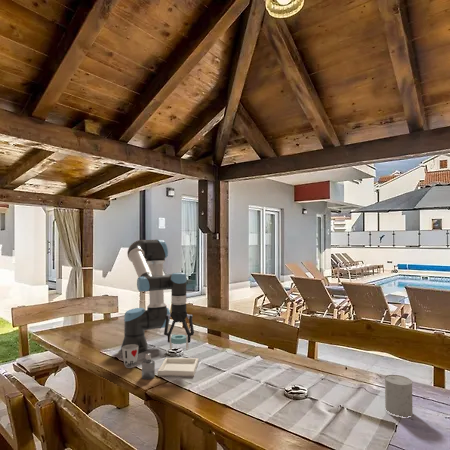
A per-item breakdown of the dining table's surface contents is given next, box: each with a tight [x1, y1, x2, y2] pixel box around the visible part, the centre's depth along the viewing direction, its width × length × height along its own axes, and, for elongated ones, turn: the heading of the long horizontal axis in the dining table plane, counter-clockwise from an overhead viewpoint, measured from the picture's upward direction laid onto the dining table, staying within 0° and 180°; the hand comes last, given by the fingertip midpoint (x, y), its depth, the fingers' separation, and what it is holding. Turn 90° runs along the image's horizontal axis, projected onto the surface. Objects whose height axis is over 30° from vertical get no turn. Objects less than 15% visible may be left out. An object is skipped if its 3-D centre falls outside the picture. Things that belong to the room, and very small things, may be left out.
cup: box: [121, 344, 139, 369], centre depth 183 cm, size 8×8×10 cm
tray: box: [157, 357, 199, 378], centre depth 178 cm, size 17×17×2 cm
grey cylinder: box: [384, 374, 414, 417], centre depth 136 cm, size 10×10×12 cm
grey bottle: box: [141, 352, 156, 381], centre depth 169 cm, size 6×6×11 cm
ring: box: [171, 333, 187, 345], centre depth 179 cm, size 9×8×2 cm
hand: (179, 348), depth 178 cm, fingers closed on ring, 8 cm apart
